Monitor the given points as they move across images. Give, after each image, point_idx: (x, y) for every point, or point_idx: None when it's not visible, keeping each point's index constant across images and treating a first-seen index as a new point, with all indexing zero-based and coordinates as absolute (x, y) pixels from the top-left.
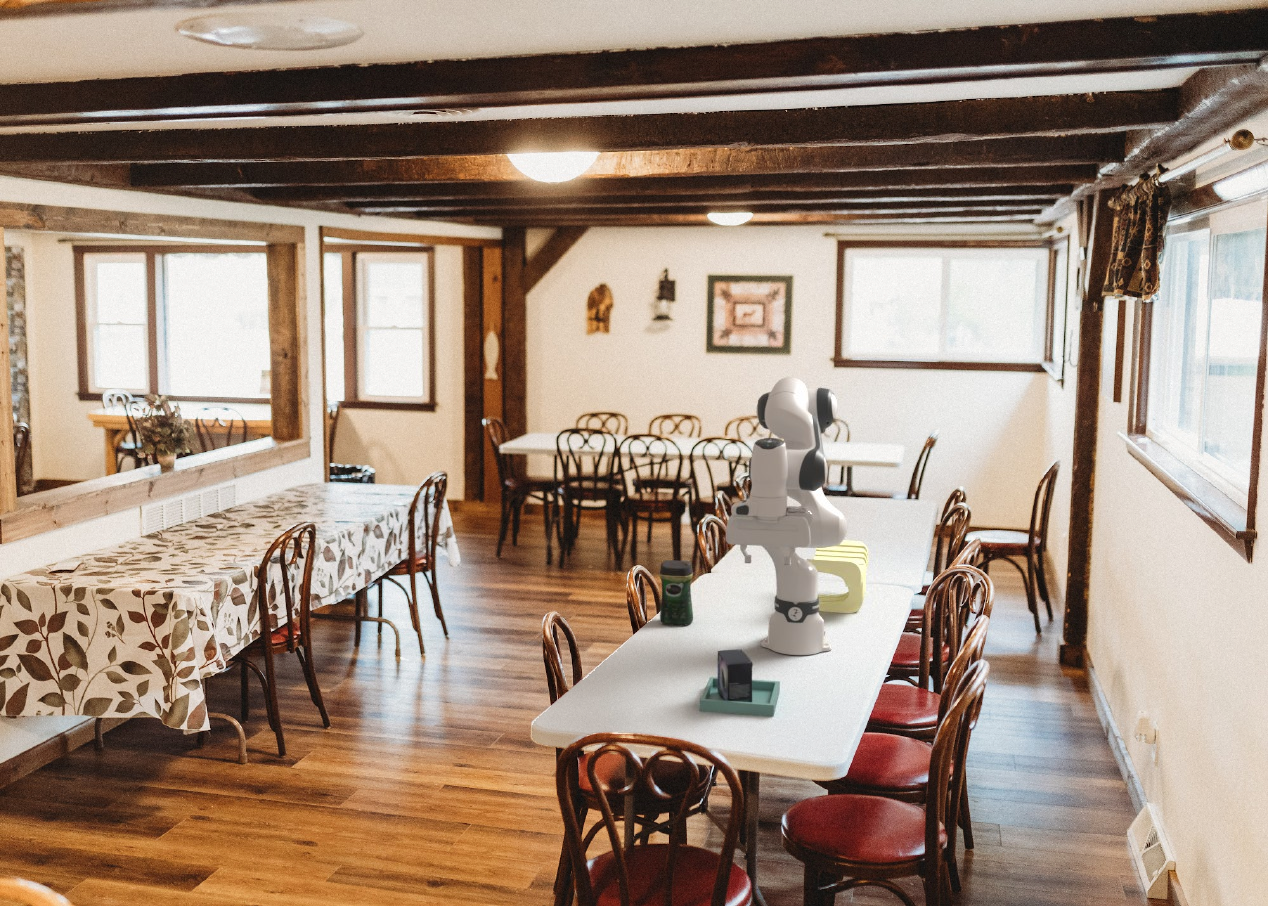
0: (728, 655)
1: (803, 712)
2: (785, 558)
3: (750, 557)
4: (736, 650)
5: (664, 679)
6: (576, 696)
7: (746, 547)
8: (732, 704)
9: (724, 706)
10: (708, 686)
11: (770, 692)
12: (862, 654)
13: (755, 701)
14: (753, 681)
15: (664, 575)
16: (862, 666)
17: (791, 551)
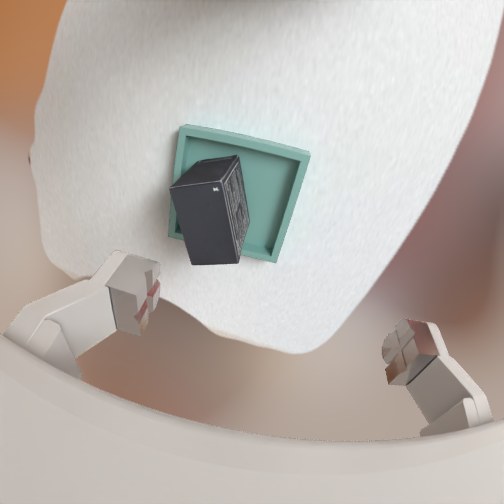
0: (191, 223)
1: (323, 242)
2: (393, 384)
3: (142, 332)
4: (209, 193)
5: (116, 93)
6: (40, 178)
7: (67, 351)
8: None
9: None
10: (177, 177)
11: (289, 166)
12: (477, 8)
13: (256, 206)
14: (260, 150)
15: None
16: (470, 57)
17: (448, 407)
